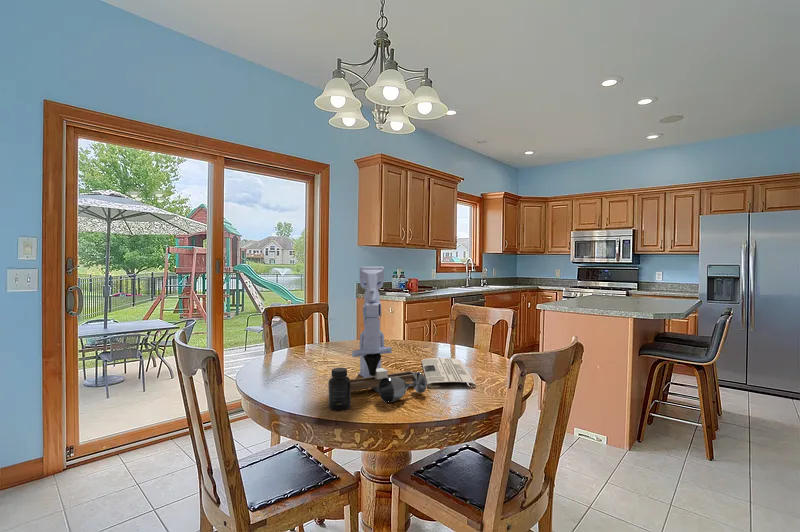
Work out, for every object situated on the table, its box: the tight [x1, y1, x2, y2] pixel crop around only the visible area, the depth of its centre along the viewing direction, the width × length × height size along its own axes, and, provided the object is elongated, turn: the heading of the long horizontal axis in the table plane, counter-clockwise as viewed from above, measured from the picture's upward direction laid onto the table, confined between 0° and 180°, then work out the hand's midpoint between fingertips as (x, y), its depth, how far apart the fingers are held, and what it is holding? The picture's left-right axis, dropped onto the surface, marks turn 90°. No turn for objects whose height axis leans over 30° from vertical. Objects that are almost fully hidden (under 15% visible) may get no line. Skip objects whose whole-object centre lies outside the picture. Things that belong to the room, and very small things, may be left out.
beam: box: [349, 370, 416, 393], centre depth 144 cm, size 6×28×4 cm, turn 117°
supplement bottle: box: [327, 367, 352, 412], centre depth 126 cm, size 7×7×12 cm
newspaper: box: [421, 357, 477, 389], centre depth 164 cm, size 37×19×3 cm, turn 0°
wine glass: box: [378, 371, 428, 404], centre depth 135 cm, size 8×8×15 cm
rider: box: [373, 367, 389, 379], centre depth 144 cm, size 4×4×4 cm
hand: (372, 375), depth 143 cm, fingers closed
